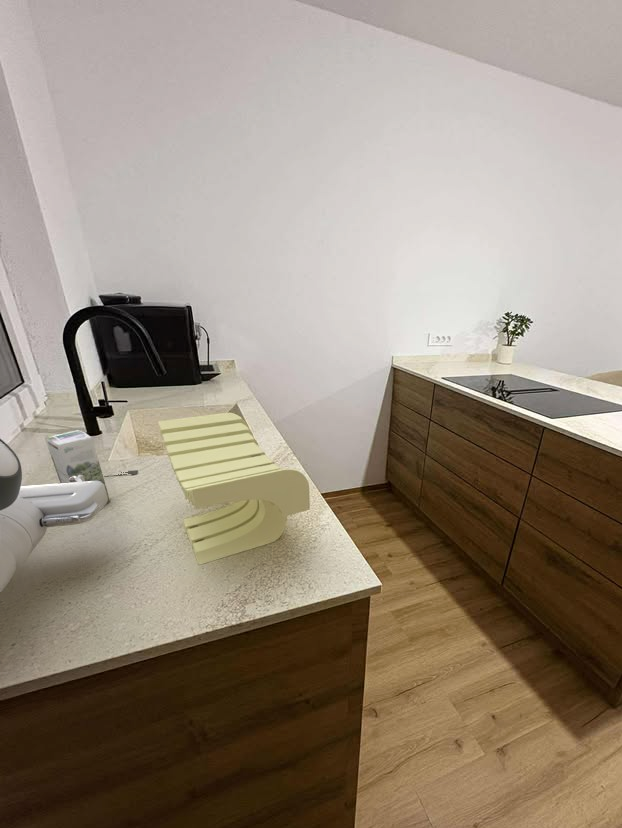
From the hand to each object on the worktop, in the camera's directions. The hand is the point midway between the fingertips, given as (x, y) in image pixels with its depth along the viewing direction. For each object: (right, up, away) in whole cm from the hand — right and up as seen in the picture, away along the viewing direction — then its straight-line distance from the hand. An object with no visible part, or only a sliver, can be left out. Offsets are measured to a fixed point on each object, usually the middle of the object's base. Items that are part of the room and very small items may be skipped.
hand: (46, 481), depth 62 cm
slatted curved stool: (+28, -9, +9) cm, 31 cm away
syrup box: (-4, -5, +16) cm, 17 cm away
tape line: (-7, +2, +27) cm, 28 cm away
